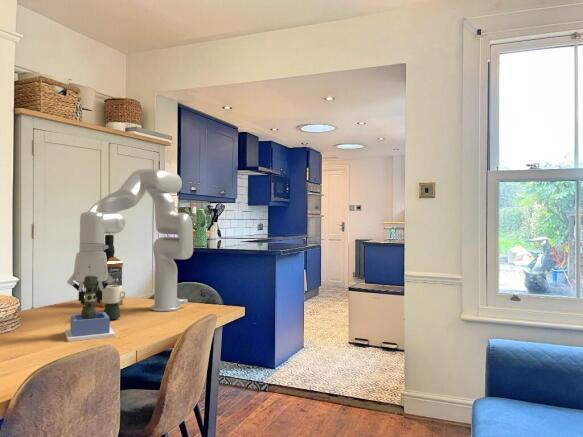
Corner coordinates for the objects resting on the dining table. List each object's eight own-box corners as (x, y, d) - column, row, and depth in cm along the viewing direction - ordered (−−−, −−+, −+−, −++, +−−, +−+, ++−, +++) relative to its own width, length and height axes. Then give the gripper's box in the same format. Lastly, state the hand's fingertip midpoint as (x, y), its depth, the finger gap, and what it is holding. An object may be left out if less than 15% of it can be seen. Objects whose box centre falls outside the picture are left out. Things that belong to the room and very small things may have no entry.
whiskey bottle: (111, 302, 208) (113, 234, 208) (124, 304, 202) (125, 235, 202) (90, 305, 199) (92, 234, 200) (103, 308, 193) (104, 235, 194)
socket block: (108, 327, 158) (109, 310, 158) (115, 336, 146) (115, 318, 146) (64, 331, 151) (65, 314, 151) (67, 341, 139) (68, 322, 139)
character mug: (128, 317, 175) (129, 284, 175) (121, 321, 168) (122, 287, 168) (101, 317, 175) (102, 284, 175) (93, 321, 168) (94, 286, 168)
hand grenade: (92, 320, 145) (94, 265, 145) (77, 319, 146) (79, 265, 146) (102, 316, 151) (104, 264, 151) (88, 315, 152) (90, 263, 152)
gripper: (116, 247, 156) (115, 299, 156) (62, 248, 148) (61, 302, 147) (120, 248, 150) (118, 302, 149) (64, 249, 141) (62, 306, 141)
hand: (90, 302), depth 148 cm, fingers closed on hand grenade, 4 cm apart
